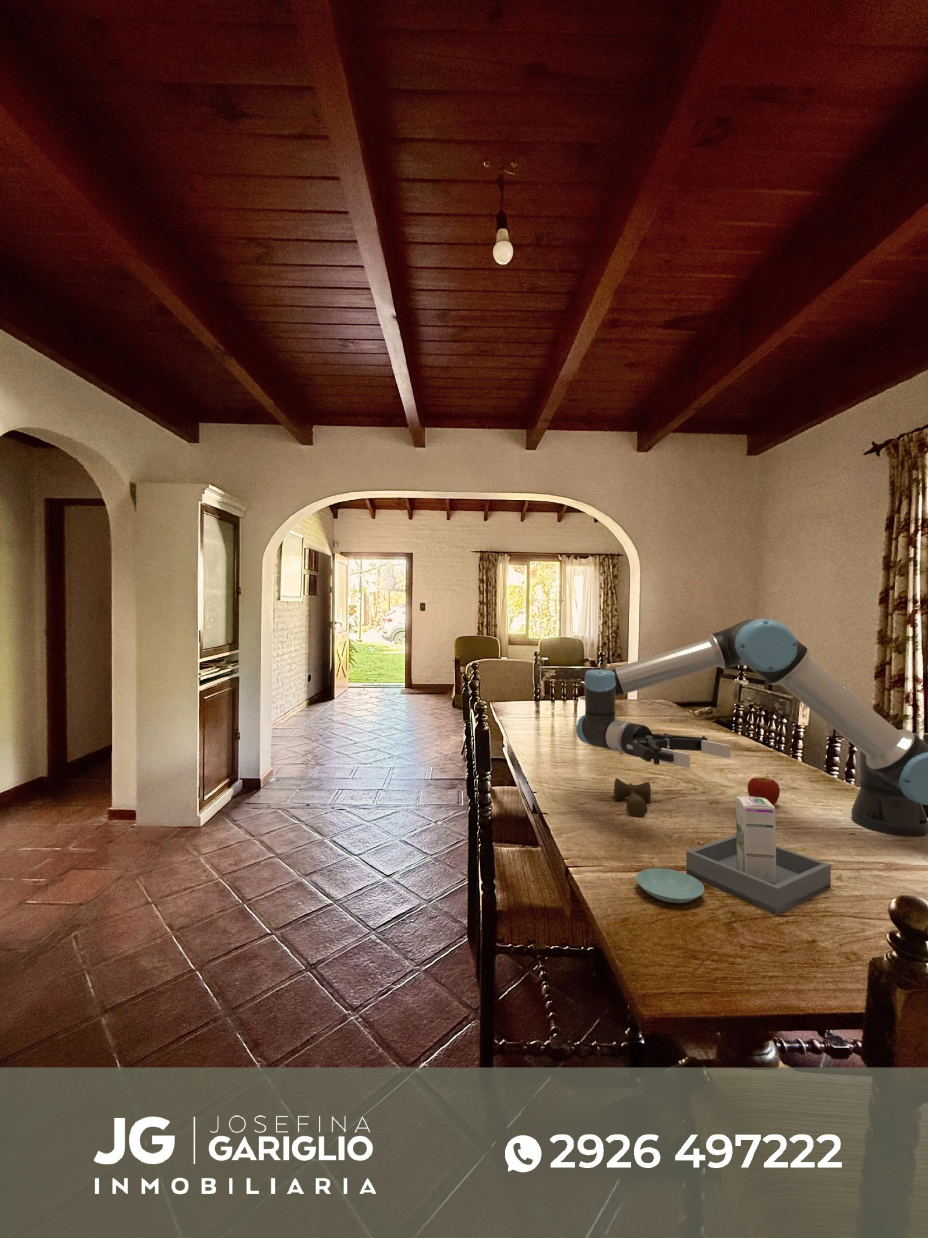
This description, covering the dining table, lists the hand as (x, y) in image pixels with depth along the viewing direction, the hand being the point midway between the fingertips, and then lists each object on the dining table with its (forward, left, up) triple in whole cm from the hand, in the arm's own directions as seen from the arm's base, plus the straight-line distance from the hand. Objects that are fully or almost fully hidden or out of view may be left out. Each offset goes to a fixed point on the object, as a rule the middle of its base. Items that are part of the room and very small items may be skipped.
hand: (710, 756), depth 116 cm
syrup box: (-7, +7, -21) cm, 23 cm away
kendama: (+13, -34, -23) cm, 42 cm away
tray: (-7, +7, -22) cm, 24 cm away
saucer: (+10, +16, -22) cm, 29 cm away
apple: (-21, -41, -22) cm, 51 cm away
